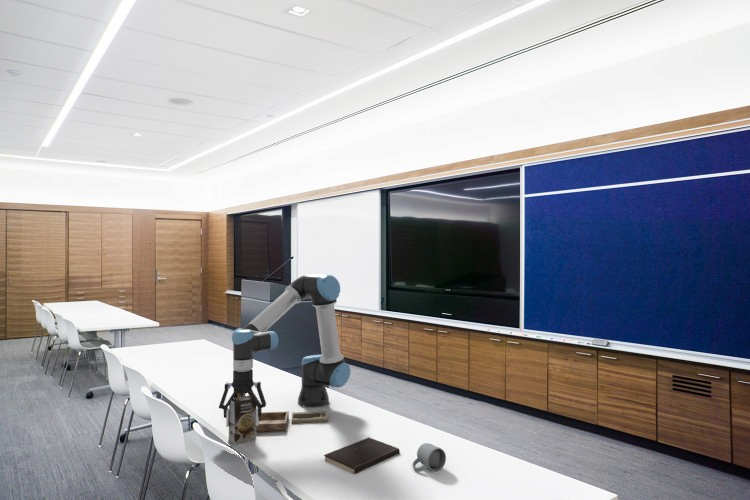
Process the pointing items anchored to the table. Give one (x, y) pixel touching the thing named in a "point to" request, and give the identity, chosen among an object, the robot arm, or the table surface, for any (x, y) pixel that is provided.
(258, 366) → the table surface
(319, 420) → the computer
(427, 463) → the ceramic mug
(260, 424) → the tray
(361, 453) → the hardcover book
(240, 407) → the coffee box
